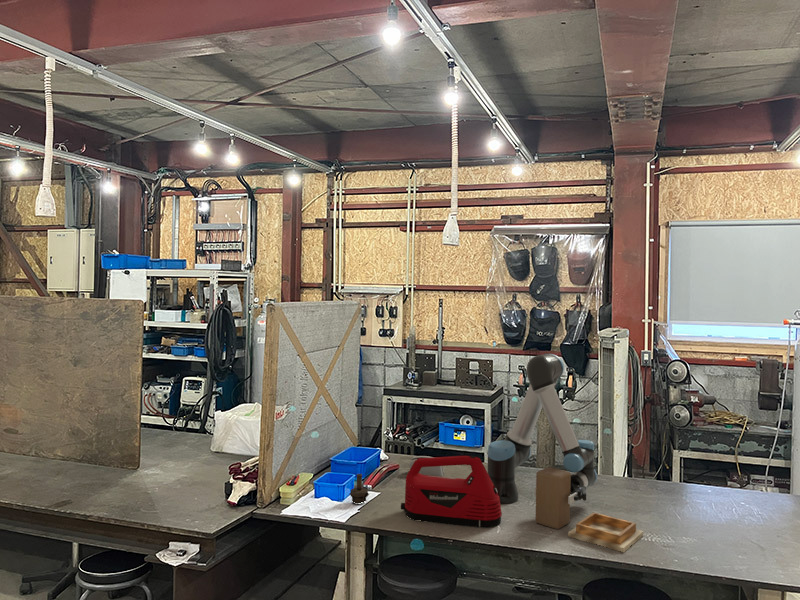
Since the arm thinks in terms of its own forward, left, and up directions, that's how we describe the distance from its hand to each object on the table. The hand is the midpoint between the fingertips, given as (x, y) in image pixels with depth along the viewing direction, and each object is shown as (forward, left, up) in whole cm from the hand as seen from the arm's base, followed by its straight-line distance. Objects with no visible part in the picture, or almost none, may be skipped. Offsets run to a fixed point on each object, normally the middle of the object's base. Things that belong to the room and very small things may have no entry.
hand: (552, 496), depth 226 cm
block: (0, +2, -11) cm, 11 cm away
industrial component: (-71, -33, -11) cm, 79 cm away
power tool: (-33, -20, -11) cm, 40 cm away
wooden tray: (+19, +4, -11) cm, 23 cm away
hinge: (-75, +19, -11) cm, 78 cm away
